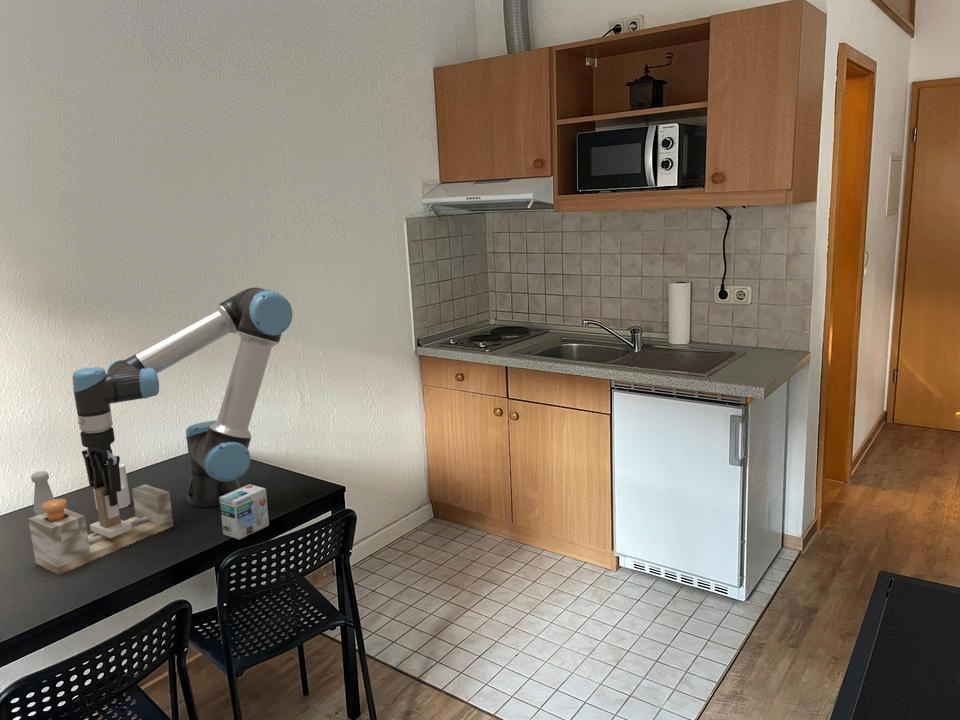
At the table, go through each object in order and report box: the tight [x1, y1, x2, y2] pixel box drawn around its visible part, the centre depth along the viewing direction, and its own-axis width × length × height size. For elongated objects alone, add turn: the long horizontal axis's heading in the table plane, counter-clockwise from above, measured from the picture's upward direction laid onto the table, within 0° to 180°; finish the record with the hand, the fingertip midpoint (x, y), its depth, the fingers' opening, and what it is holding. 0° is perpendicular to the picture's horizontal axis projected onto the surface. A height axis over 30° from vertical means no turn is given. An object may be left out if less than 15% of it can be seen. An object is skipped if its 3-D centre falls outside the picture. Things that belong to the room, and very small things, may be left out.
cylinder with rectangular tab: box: [92, 462, 131, 511], centre depth 220 cm, size 9×9×12 cm
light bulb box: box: [219, 483, 270, 540], centre depth 201 cm, size 11×7×11 cm, turn 148°
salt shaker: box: [30, 470, 55, 516], centre depth 214 cm, size 6×6×13 cm
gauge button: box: [42, 498, 68, 522], centre depth 184 cm, size 5×5×5 cm
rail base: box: [27, 483, 174, 576], centre depth 195 cm, size 31×11×12 cm, turn 146°
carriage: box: [89, 486, 132, 538], centre depth 195 cm, size 6×9×12 cm, turn 56°
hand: (109, 515), depth 196 cm, fingers closed on carriage, 3 cm apart
